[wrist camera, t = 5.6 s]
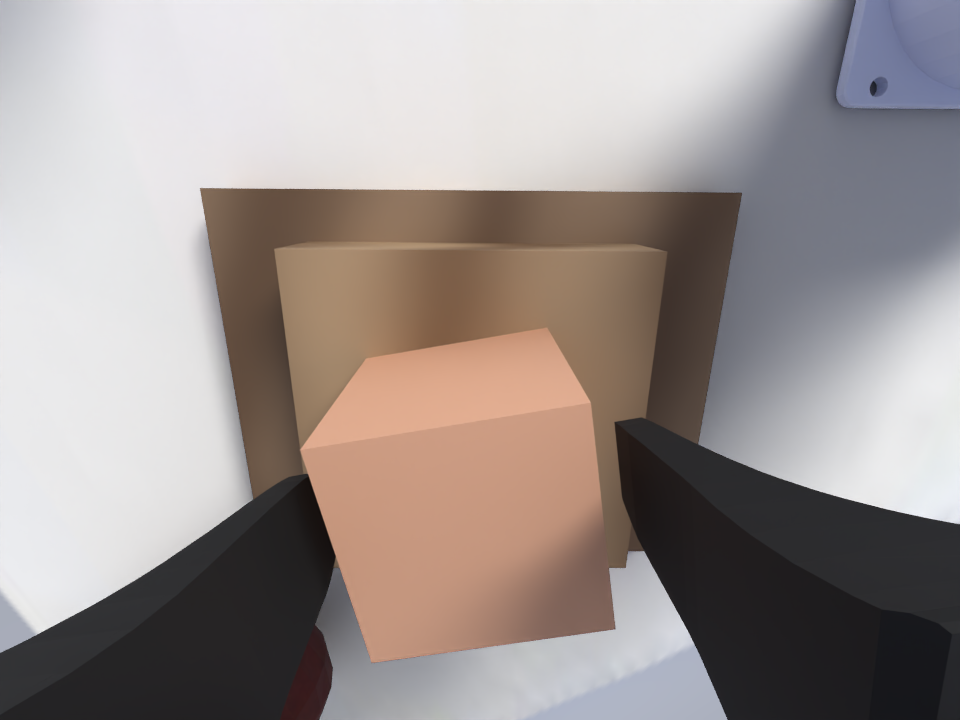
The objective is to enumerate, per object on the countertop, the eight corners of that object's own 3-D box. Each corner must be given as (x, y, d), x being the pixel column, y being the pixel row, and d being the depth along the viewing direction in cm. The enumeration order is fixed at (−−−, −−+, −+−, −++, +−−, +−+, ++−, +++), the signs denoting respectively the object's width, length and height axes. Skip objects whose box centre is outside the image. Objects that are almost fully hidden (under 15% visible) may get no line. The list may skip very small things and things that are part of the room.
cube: (547, 327, 12) (590, 402, 8) (568, 485, 14) (615, 629, 9) (365, 358, 13) (300, 449, 8) (406, 510, 14) (372, 662, 10)
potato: (166, 540, 19) (4, 715, 13) (353, 556, 20) (291, 735, 13) (182, 669, 22) (51, 875, 15) (348, 681, 22) (293, 888, 15)
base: (717, 193, 15) (797, 190, 11) (664, 525, 19) (710, 603, 16) (226, 190, 15) (142, 184, 11) (278, 525, 19) (229, 604, 15)
